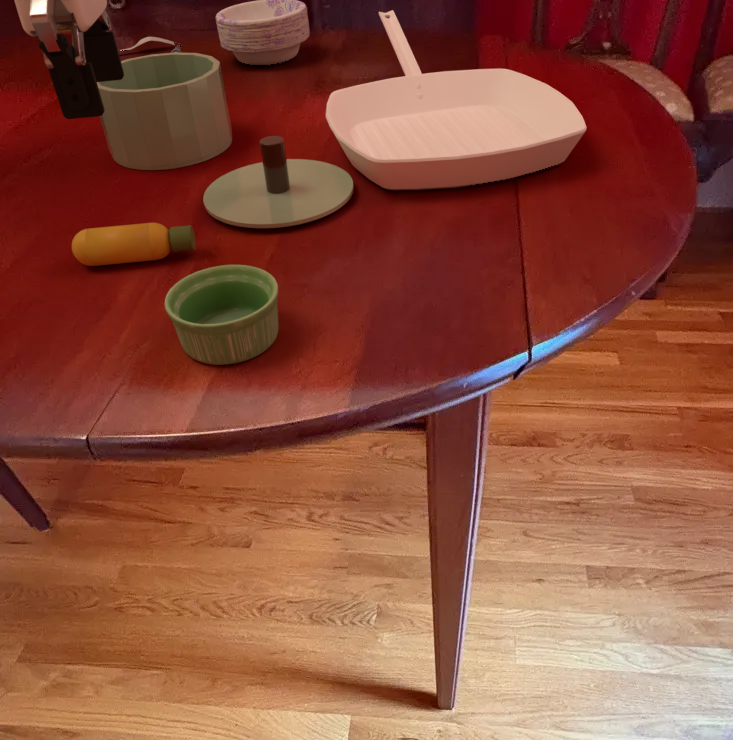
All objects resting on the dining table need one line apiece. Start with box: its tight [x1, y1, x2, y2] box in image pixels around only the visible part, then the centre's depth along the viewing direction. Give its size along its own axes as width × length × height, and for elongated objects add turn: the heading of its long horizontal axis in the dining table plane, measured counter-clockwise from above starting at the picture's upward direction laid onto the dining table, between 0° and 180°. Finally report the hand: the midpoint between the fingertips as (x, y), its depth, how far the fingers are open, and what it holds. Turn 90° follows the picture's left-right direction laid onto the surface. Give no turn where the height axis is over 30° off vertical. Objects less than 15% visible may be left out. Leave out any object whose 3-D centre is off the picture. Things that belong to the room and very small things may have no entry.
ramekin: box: [164, 264, 280, 366], centre depth 59 cm, size 9×9×4 cm
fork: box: [119, 36, 175, 51], centre depth 132 cm, size 3×21×3 cm, turn 108°
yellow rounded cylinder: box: [71, 222, 197, 267], centre depth 70 cm, size 12×4×4 cm, turn 95°
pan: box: [325, 9, 588, 191], centre depth 92 cm, size 29×45×9 cm, turn 13°
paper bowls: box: [215, 0, 311, 66], centre depth 122 cm, size 15×15×8 cm
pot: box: [97, 52, 233, 171], centre depth 92 cm, size 16×16×10 cm
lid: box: [202, 135, 355, 229], centre depth 78 cm, size 17×17×7 cm
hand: (96, 97), depth 62 cm, fingers open, 9 cm apart
